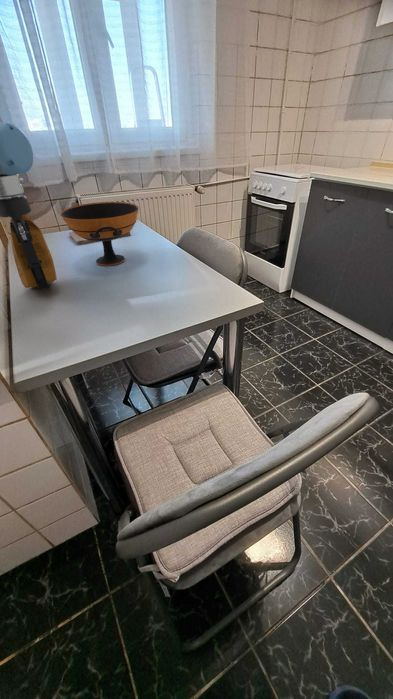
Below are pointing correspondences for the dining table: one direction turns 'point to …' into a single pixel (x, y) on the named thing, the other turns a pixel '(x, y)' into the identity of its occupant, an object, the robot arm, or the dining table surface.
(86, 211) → the footed pedestal bowl
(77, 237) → the chopping board
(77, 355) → the dining table surface
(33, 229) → the coffee package
